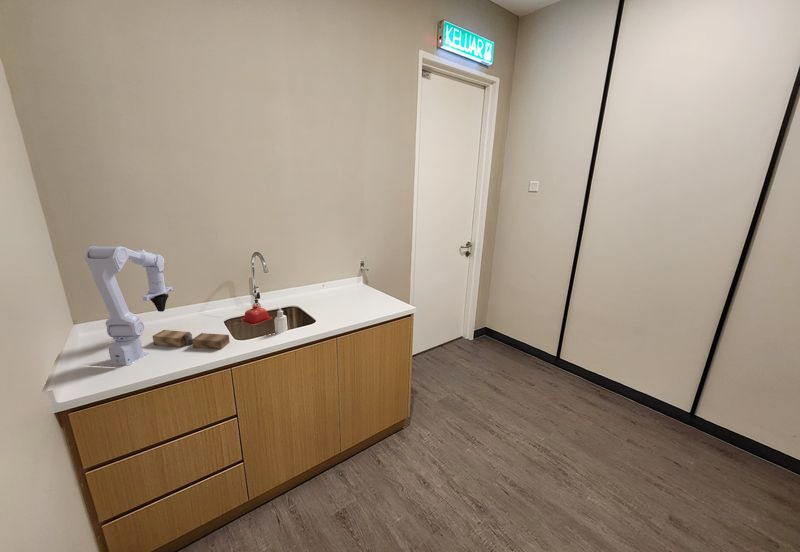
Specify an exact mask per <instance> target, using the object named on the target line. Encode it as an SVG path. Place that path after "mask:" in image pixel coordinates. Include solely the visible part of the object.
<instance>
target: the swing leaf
mask: <svg viewBox="0 0 800 552" xmlns="http://www.w3.org/2000/svg"><path fill="white" fill-rule="evenodd" d="M192 339H193V334H192V333H191V332H190V331H181V330H169V329H163V330H161V331H159V332H158V333H155V334H153V335H152V341H153V345H154V346H164V347H175V348H176V347H177V348H182V347H183V346H184V345H185V346H193V343H192Z"/></svg>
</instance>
